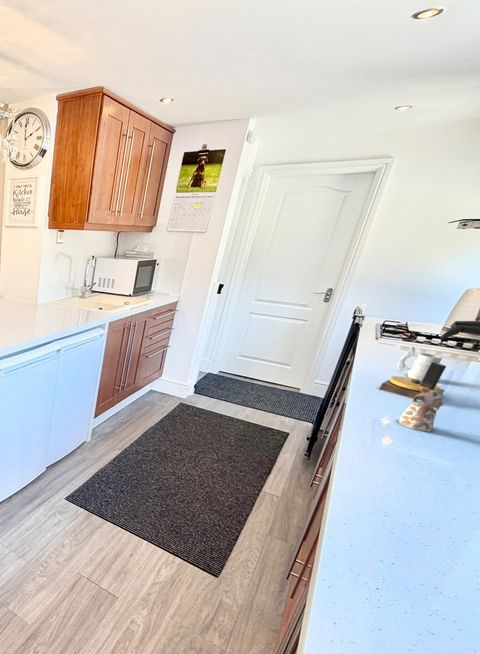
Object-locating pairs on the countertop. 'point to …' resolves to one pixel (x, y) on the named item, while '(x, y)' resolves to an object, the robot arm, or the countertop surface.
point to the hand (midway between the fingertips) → (463, 348)
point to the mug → (417, 363)
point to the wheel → (427, 382)
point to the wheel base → (403, 390)
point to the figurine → (422, 411)
